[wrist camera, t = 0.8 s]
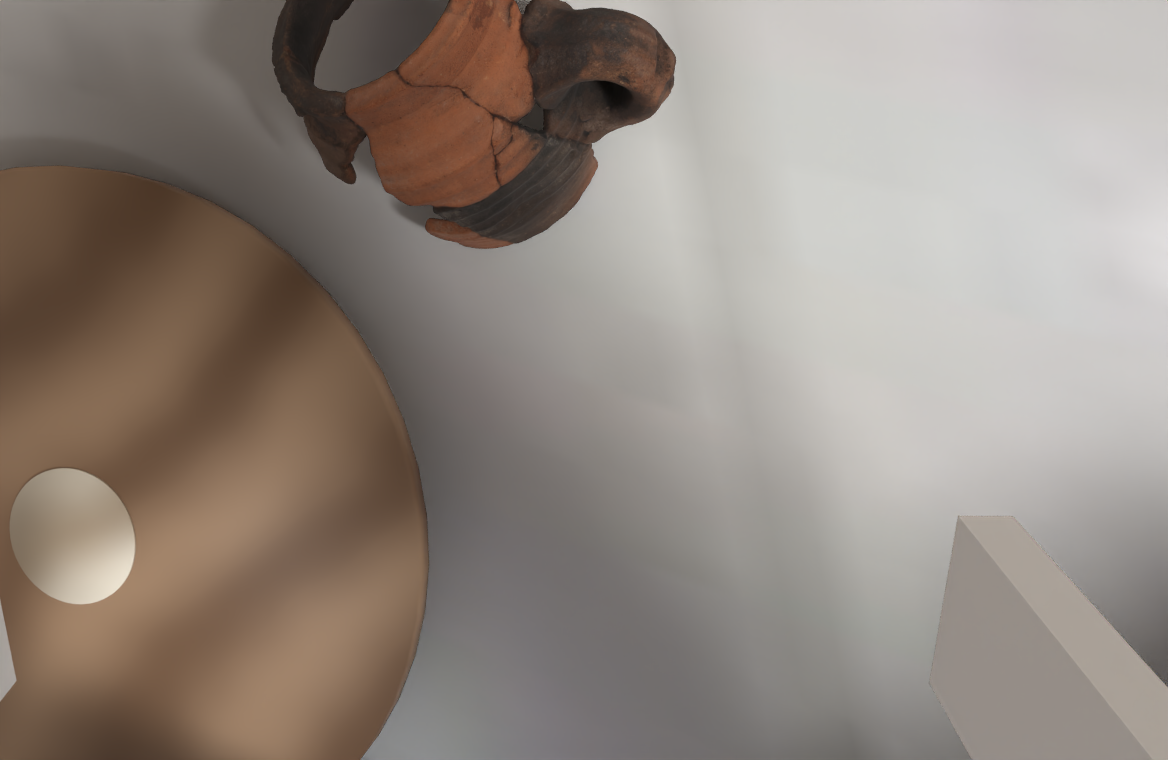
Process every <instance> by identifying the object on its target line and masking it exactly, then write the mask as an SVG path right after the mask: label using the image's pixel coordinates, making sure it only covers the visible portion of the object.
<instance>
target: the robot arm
mask: <svg viewBox="0 0 1168 760" xmlns="http://www.w3.org/2000/svg"><path fill="white" fill-rule="evenodd" d="M15 682H16V676H15V671H14V666H13V661H12V656H11V651H10V646H9V641H8V636H7V631H6V626H5V621H4V616H3V611H2V606H1V601H0V701H1V700H2V699H3V697H4V696H5V695H6V694H7V692H8V691H9V690H10V689H11V687H12V686H13V685H14V683H15ZM929 684H930V686H931V687H932V689H933V691H934V693H935V695H936V696H937V698H938V700H939V702H940V704H941V705H942V707H943V709H944V711H945V713H946V714H947V716H948V718H949V720H950V721H951V723H952V725H953V727H954V729H955V730H956V732H957V734H958V736H959V738H960V739H961V741H962V743H963V745H964V747H965V748H966V750H967V752H968V754H969V755H970V757H971V759H972V760H1168V687H1167V686H1166V685H1165V684H1164V683H1163V682H1162V681H1161V680H1160V678H1159V677H1158V676H1157V675H1156V674H1155V673H1154V672H1153V671H1152V670H1151V669H1150V667H1149V666H1148V665H1147V664H1146V663H1145V662H1144V661H1143V660H1142V659H1141V657H1140V656H1139V655H1138V654H1137V653H1136V652H1135V651H1134V650H1133V649H1132V648H1131V646H1130V645H1129V644H1128V643H1127V642H1126V641H1125V640H1124V639H1123V638H1122V636H1121V635H1120V634H1119V633H1118V632H1117V631H1116V630H1115V629H1114V628H1113V626H1112V625H1111V624H1110V623H1109V622H1108V621H1107V620H1106V619H1105V618H1104V617H1103V615H1102V614H1101V613H1100V612H1099V611H1098V610H1097V609H1096V608H1095V607H1094V605H1093V604H1092V603H1091V602H1090V601H1089V600H1088V599H1087V598H1086V597H1085V596H1084V594H1083V593H1082V592H1081V591H1080V590H1079V589H1078V588H1077V587H1076V586H1075V584H1074V583H1073V582H1072V581H1071V580H1070V579H1069V578H1068V577H1067V576H1066V574H1065V573H1064V572H1063V571H1062V570H1061V569H1060V568H1059V567H1058V566H1057V565H1056V563H1055V562H1054V561H1053V560H1052V559H1051V558H1050V557H1049V556H1048V555H1047V553H1046V552H1045V551H1044V550H1043V549H1042V548H1041V547H1040V546H1039V545H1038V544H1037V542H1036V541H1035V540H1034V539H1033V538H1032V537H1031V536H1030V535H1029V534H1028V532H1027V531H1026V530H1025V529H1024V528H1023V527H1022V526H1021V525H1020V524H1019V523H1018V521H1017V520H1016V519H1015V518H1014V517H1013V516H958V520H957V525H956V531H955V537H954V543H953V548H952V554H951V560H950V566H949V571H948V577H947V583H946V589H945V594H944V600H943V606H942V612H941V617H940V623H939V629H938V635H937V640H936V646H935V652H934V658H933V663H932V669H931V675H930V681H929Z"/></svg>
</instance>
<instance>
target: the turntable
mask: <svg viewBox="0 0 1168 760" xmlns="http://www.w3.org/2000/svg"><path fill="white" fill-rule="evenodd" d="M428 572H429V551H428V529H427V514H426V508H425V502H424V496H423V491H422V485H421V479H420V473H419V468H418V464H417V461H416V458H415V455H414V451H413V448H412V445H411V441H410V438H409V435H408V432H407V428H406V425H405V422H404V419H403V417H402V415H401V412H400V410H399V408H398V405H397V403H396V401H395V399H394V396H393V394H392V392H391V390H390V387H389V385H388V383H387V381H386V378H385V376H384V374H383V372H382V371H381V369H380V367H379V366H378V364H377V362H376V361H375V359H374V357H373V356H372V354H371V352H370V351H369V349H368V347H367V346H366V344H365V342H364V341H363V339H362V337H361V336H360V334H359V332H358V331H357V329H356V328H355V327H354V325H353V324H352V323H351V322H350V320H349V319H348V318H347V316H346V315H345V314H344V313H343V311H342V310H341V309H340V307H339V306H338V305H337V304H336V302H335V301H334V300H333V299H332V297H331V296H330V295H329V293H328V292H327V291H326V290H325V289H324V288H323V287H322V286H321V285H320V284H319V283H318V282H317V281H316V280H315V279H314V278H313V277H312V276H311V275H310V274H309V273H308V272H307V271H306V270H305V269H304V268H303V267H302V266H301V265H300V264H299V263H298V262H297V261H296V260H295V259H294V258H293V257H292V256H291V255H290V254H288V253H287V252H286V251H285V250H283V249H282V248H281V247H279V246H278V245H277V244H276V243H274V242H273V241H272V240H270V239H269V238H268V237H266V236H265V235H264V234H263V233H261V232H260V231H259V230H257V229H256V228H255V227H254V226H252V225H250V224H249V223H247V222H245V221H244V220H242V219H240V218H238V217H237V216H235V215H233V214H232V213H230V212H228V211H226V210H225V209H223V208H221V207H220V206H218V205H216V204H214V203H213V202H211V201H209V200H206V199H204V198H201V197H199V196H196V195H194V194H192V193H189V192H187V191H184V190H182V189H180V188H177V187H175V186H172V185H170V184H167V183H163V182H160V181H156V180H152V179H148V178H144V177H140V176H136V175H133V174H129V173H125V172H117V171H108V170H98V169H89V168H80V167H70V166H38V167H16V168H11V169H6V170H0V601H1V606H2V611H3V616H4V621H5V626H6V631H7V636H8V641H9V646H10V651H11V656H12V661H13V666H14V671H15V676H16V682H15V683H14V685H13V686H12V687H11V689H10V690H9V691H8V692H7V694H6V695H5V696H4V697H3V699H2V700H1V701H0V760H360V759H361V758H362V756H363V755H364V754H365V753H366V751H367V750H368V749H369V747H370V746H371V745H372V743H373V742H374V741H375V739H376V738H377V737H378V735H379V734H380V732H381V730H382V728H383V727H384V725H385V723H386V721H387V719H388V717H389V716H390V714H391V712H392V710H393V708H394V706H395V705H396V703H397V701H398V699H399V697H400V695H401V692H402V690H403V687H404V684H405V682H406V679H407V676H408V673H409V671H410V668H411V665H412V663H413V660H414V657H415V654H416V650H417V645H418V641H419V636H420V632H421V627H422V623H423V618H424V614H425V607H426V595H427V583H428Z"/></svg>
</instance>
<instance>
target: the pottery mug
mask: <svg viewBox="0 0 1168 760" xmlns="http://www.w3.org/2000/svg"><path fill="white" fill-rule="evenodd" d="M353 1H354V0H286V3H285V5H284V8H283V9H282V11H281V14H280V16H279V18H278V22H277V26H276V30H275V35H274V37H273V46H272V50H273V53H272V62H273V65H274V67H275V68H274V71H275V75H276V77H277V80H278V82H279V84H280V88H281V92H282V93H284V94H285V95H286V97H287V99H288V101H289V102H290V103H291V105H292V106H293V107H294V109H295V111H296V114H297V115H298V116H299V117H304V122H305V125H306V127H307V131H308V134H309V137H310V139H311V141H312V143H313V144H314V145H315V147H316V148H317V150H318V151H319V153H320V155H321V157H322V160H323V163H324V165H325V167H326V169H327V170H328V171H329V172H331V173H332V174H333V175H335V176H336V177H337V178H339V179H341V180H342V181H344V182H345V183H348V184H354V183H355V181H356V173H355V171H354V168H353V166H352V164H351V162H352V161H353V159H354V154H355V152H356V150H357V148H358V145H359V144H360V143H361V142H362V141H363V140H364V138H365V137H366V136H368V138H369V141H370V150H371V154H372V156H373V158H374V160H375V165H376V169H377V172H378V175H379V177H380V179H381V182H382V185H383V187H384V189H385V191H386V192H387V193H389V194H392V195H393V196H394V197H396V198H397V199H398V200H400V201H402V202H403V203H405V204H407V205H410V206H425V205H431V206H433V211H434V213H436V214H438V215H440V216H441V217H443V218H444V219H446V220H443V219H435V218H429V219H428V220H427V221H426V225H425V228H426V231H427V232H428V233H430V234H431V235H433V236H435V237H438V238H441V239H444V240H448V241H453V242H457V243H459V244H461V245H463V246H466V247H472V248H482V249H486V248H498V247H503V246H508V245H511V244H513V243H520V242H522V241H525V240H527V239H529V238H531V237H533V236H535V235H537V234H539V233H541V232H544V231H545V230H547V229H548V228H549V227H550V226H551V225H553V224H554V223H555V222H556V221H558V220H559V219H560V218H562V217H563V216H564V215H566V214H567V213H568V211H569V210H571V209H572V208H573V207H574V206H575V204H576V203H577V202H578V200H579V199H580V197H581V195H582V193H583V192H584V191H585V189H586V188H587V186H588V185H589V183H590V181H591V179H592V177H593V176H594V174H595V171H596V169H597V167H598V162H597V160H596V158H595V157H594V156H593V155H594V151H593V149H592V143H595V142H597V141H599V140H600V139H601V138H602V137H603V136H604V135H606V134H607V133H609V132H611V131H614V130H616V129H618V128H621V127H623V126H627V125H633V124H636V123H639V122H642V121H644V120H646V119H648V118H650V117H651V116H652V115H653V114H654V113H655V112H656V111H657V110H658V109H659V107H660V106H661V104H662V103H663V102H664V101H665V99H666V98H667V97H668V96H669V94H670V92H671V89H672V88H673V85H674V70H675V64H676V57H675V54H674V53H673V51H672V50H671V49H670V47H669V46H668V45H667V43H666V42H665V41H664V39H663V38H662V36H661V35H660V33H659V32H658V31H657V30H656V29H655V28H654V27H653V26H652V25H651V24H650V23H648V22H647V21H645V20H644V19H642V18H640V17H638V16H636V15H633V14H631V13H627V12H624V11H619V10H614V9H607V8H589V9H583V10H574V9H572V7H571V6H570V5H568V4H567V3H566V2H562V1H560V0H531V1H530V3H529V4H528V5H527V6H526V8H525V12H524V14H523V15H522V14H521V12H520V11H519V8H518V5H517V3H516V2H515V1H514V0H450V1H449V3H448V5H447V7H446V9H445V11H444V13H443V14H442V16H441V17H440V19H439V21H438V22H437V24H436V26H435V27H434V28H433V30H432V31H431V32H430V34H429V35H428V36H427V38H426V39H425V40H424V41H423V42H422V43H421V45H420V46H419V47H418V48H417V49H416V50H415V51H414V52H413V53H412V54H411V55H410V56H409V57H408V58H407V59H406V60H404V61H403V62H402V63H401V64H400V65H399V67H398V68H397V69H396V70H393V71H390V72H388V73H387V74H385V75H384V76H382V77H381V78H379V79H377V80H375V81H372V82H370V83H368V84H365V85H363V86H360V87H357V88H354V89H350V90H349V91H347V92H345V93H342V92H337V91H326V90H322V89H319V88H317V87H316V86H315V85H314V76H315V68H316V64H317V62H318V59H319V57H320V54H321V52H322V50H323V47H324V45H325V42H326V39H327V36H328V34H329V30H330V26H331V24H332V22H333V20H338V19H339V18H340V17H341V16H342V15H343V14H344V13H345V11H346V10H347V9H348V8H349V6H350V5H351V3H352V2H353ZM536 103H537V104H538V105H539V106H540V107H541V108H543V109H544V123H543V125H544V127H543V129H542V130H541V131H537V130H534V129H530V128H528V127H526V126H522V125H520V124H519V123H518V122H519V121H520V119H521V118H522V117H524V116H526V115H527V114H528V113H529V112H530V111H531V110H532V108H533V106H534V105H535V104H536Z"/></svg>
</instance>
